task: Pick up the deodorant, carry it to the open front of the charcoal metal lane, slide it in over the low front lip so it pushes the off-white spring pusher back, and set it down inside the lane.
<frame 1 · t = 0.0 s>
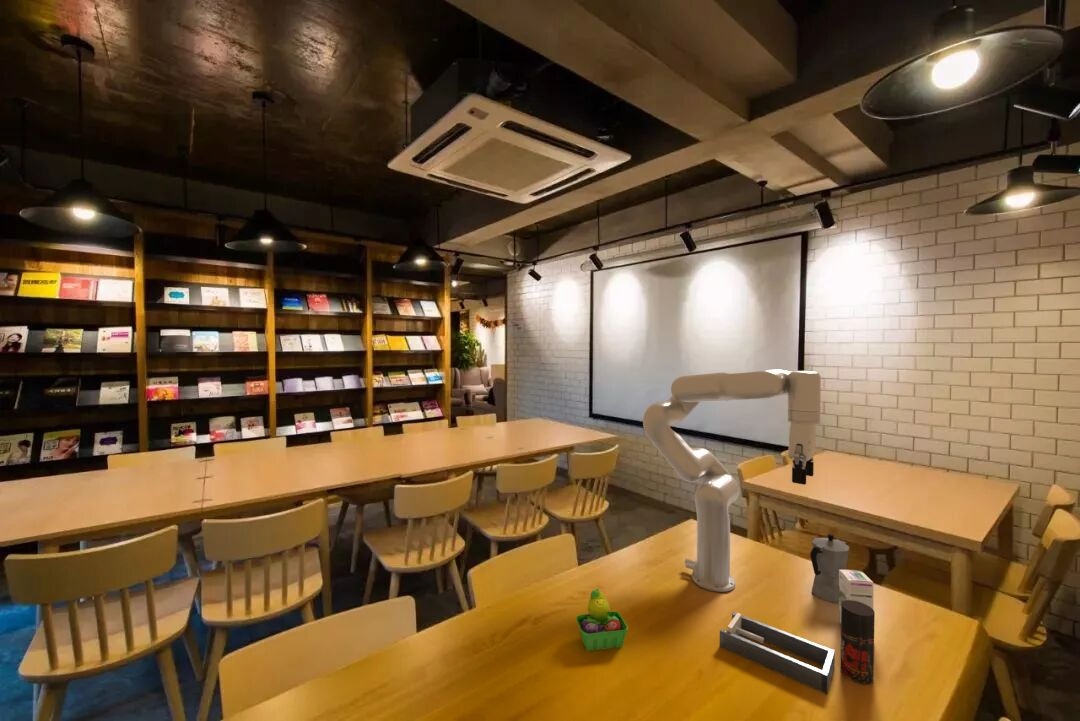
hand: (802, 479, 119), 37 cm above the table, tool pointing down, fingers open, 9 cm apart
pusher: (747, 634, 106), point 3 cm above the table, slide at 0.0 cm
syrup box: (855, 631, 112), on the table
coffeepot: (827, 596, 127), on the table
deodorant: (856, 675, 97), on the table
lane: (775, 657, 102), on the table
fruit basket: (600, 641, 108), on the table
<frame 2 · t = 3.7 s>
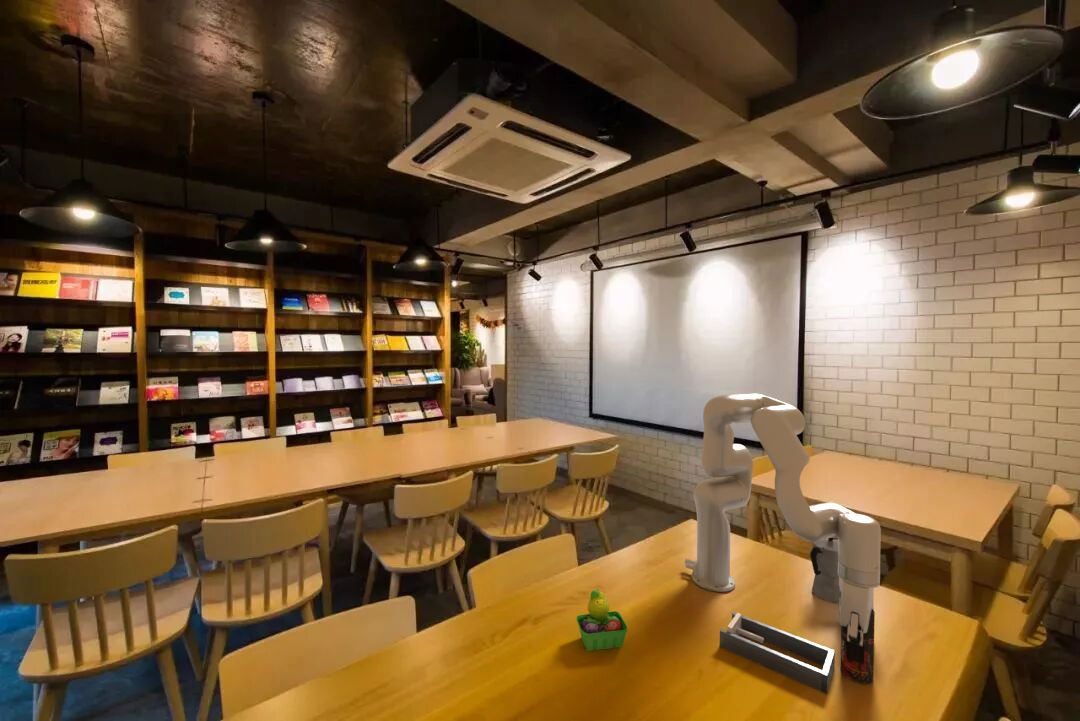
hand: (857, 651, 97), 5 cm above the table, tool pointing down, fingers closed on deodorant, 5 cm apart
deodorant: (856, 675, 97), on the table, touching gripper
everything else where it was.
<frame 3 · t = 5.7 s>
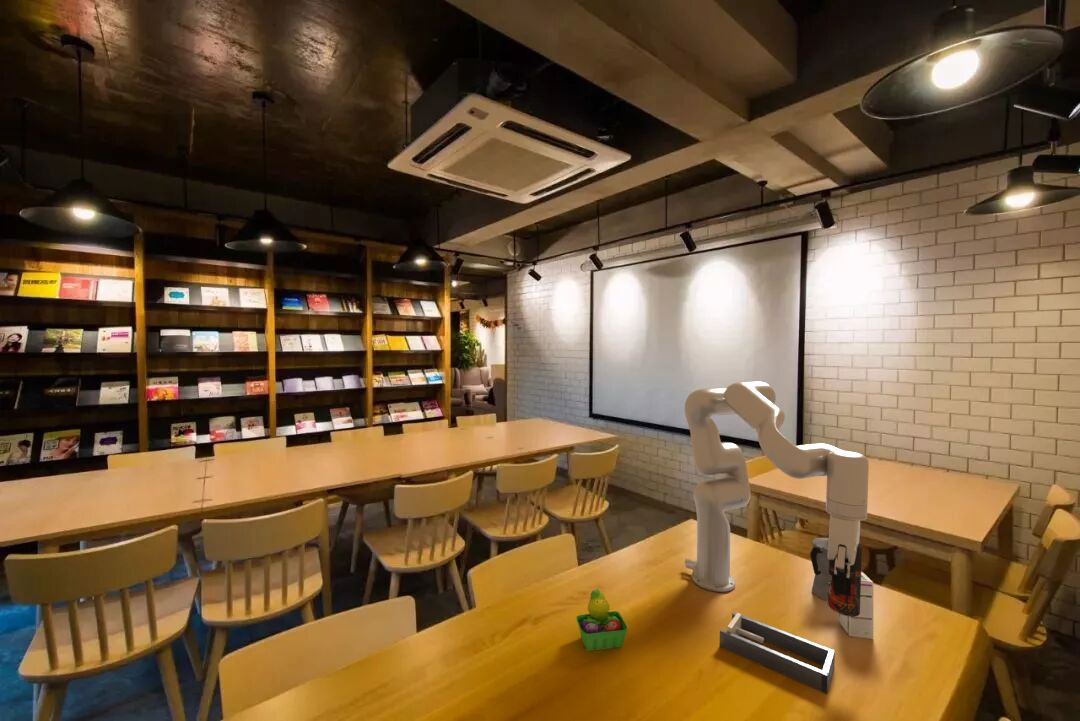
hand: (843, 586, 98), 19 cm above the table, tool pointing down, fingers closed on deodorant, 5 cm apart
deodorant: (843, 609, 98), point 14 cm above the table, touching gripper
everything else where it was.
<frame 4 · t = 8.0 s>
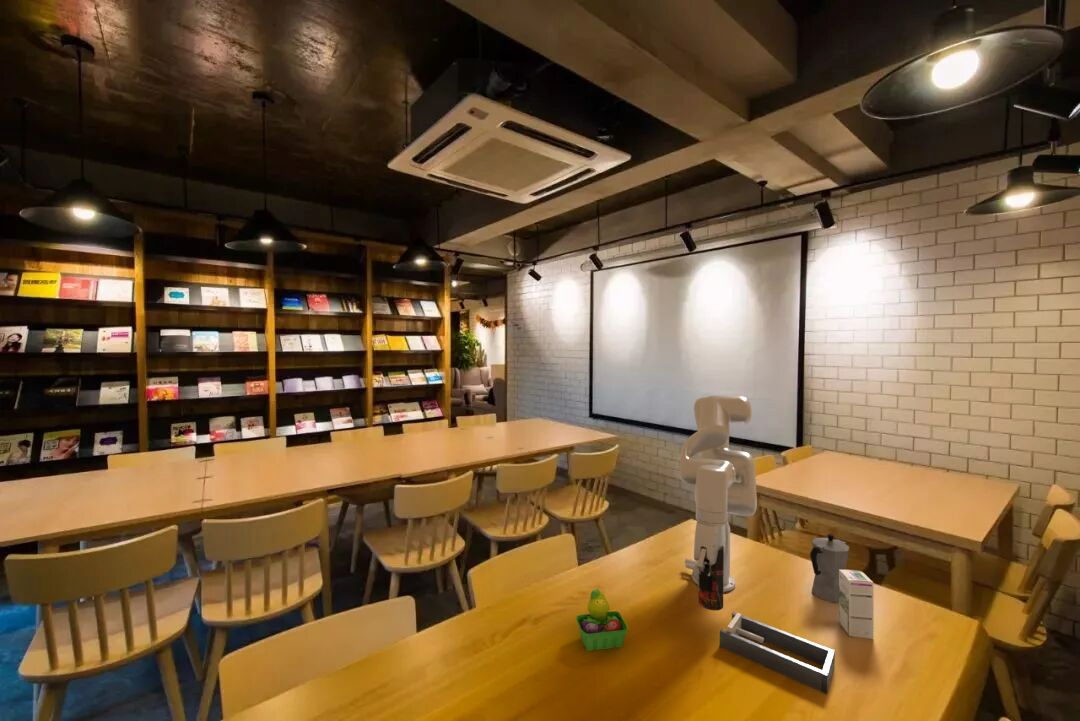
hand: (710, 584, 112), 12 cm above the table, tool pointing down, fingers closed on deodorant, 5 cm apart
deodorant: (710, 604, 112), point 7 cm above the table, touching gripper
everything else where it was.
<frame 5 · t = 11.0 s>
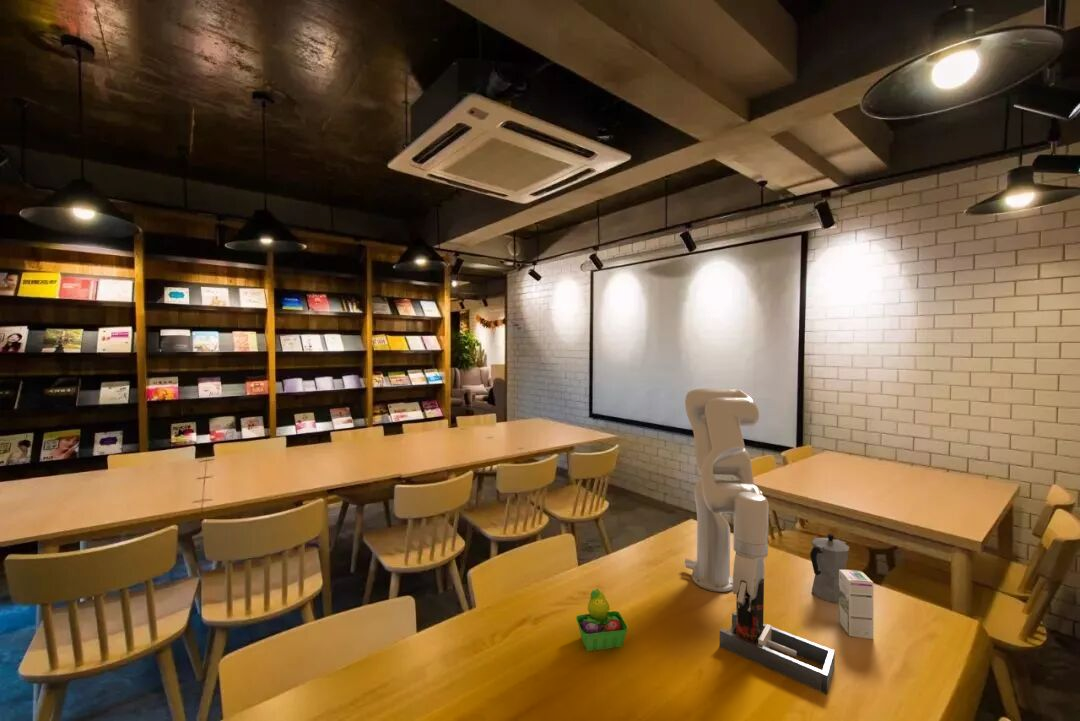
hand: (749, 617, 106), 7 cm above the table, tool pointing down, fingers closed on deodorant, 5 cm apart
pusher: (779, 647, 102), point 3 cm above the table, slide at 6.9 cm, touching deodorant
deodorant: (749, 639, 106), point 2 cm above the table, touching gripper, pusher
everything else where it was.
when the fingers open (6 cm above the table, at t = 12.1 s): deodorant stays where it is, resting in lane.
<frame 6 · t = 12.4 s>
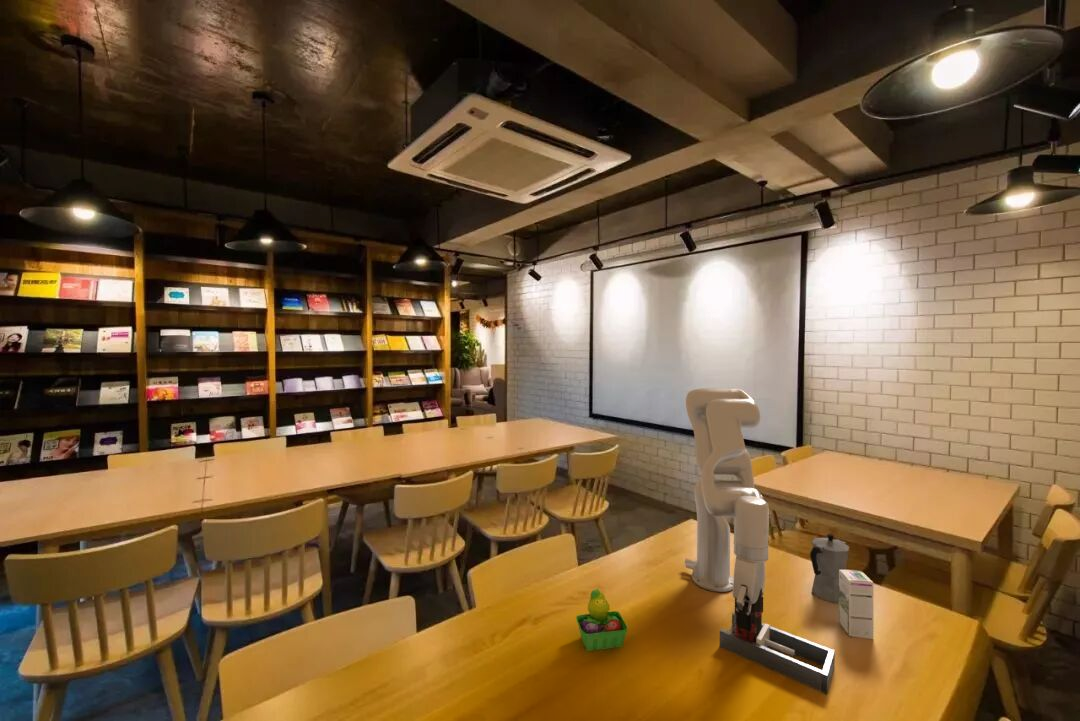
hand: (750, 619, 106), 7 cm above the table, tool pointing down, fingers open, 9 cm apart
pusher: (777, 646, 102), point 3 cm above the table, slide at 6.5 cm
deodorant: (747, 645, 106), resting in lane
everything else where it was.
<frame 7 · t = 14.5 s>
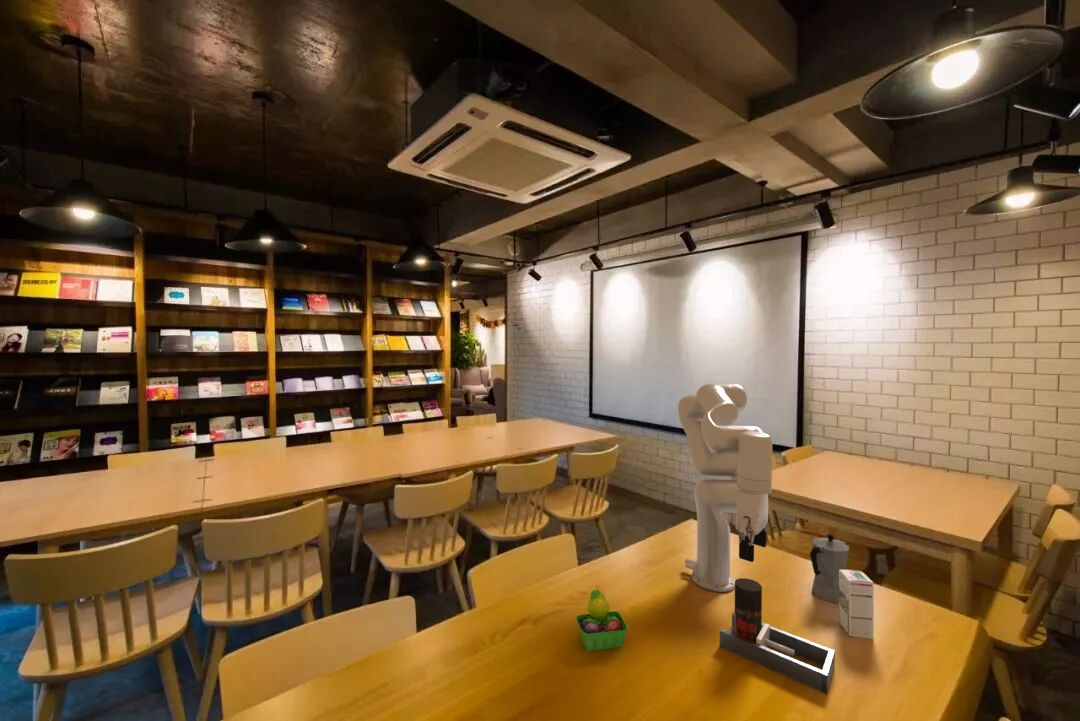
hand: (752, 552, 107), 23 cm above the table, tool pointing down, fingers open, 9 cm apart
pusher: (777, 646, 102), point 3 cm above the table, slide at 6.5 cm, touching deodorant
deodorant: (747, 645, 106), resting in lane, touching pusher
everything else where it was.
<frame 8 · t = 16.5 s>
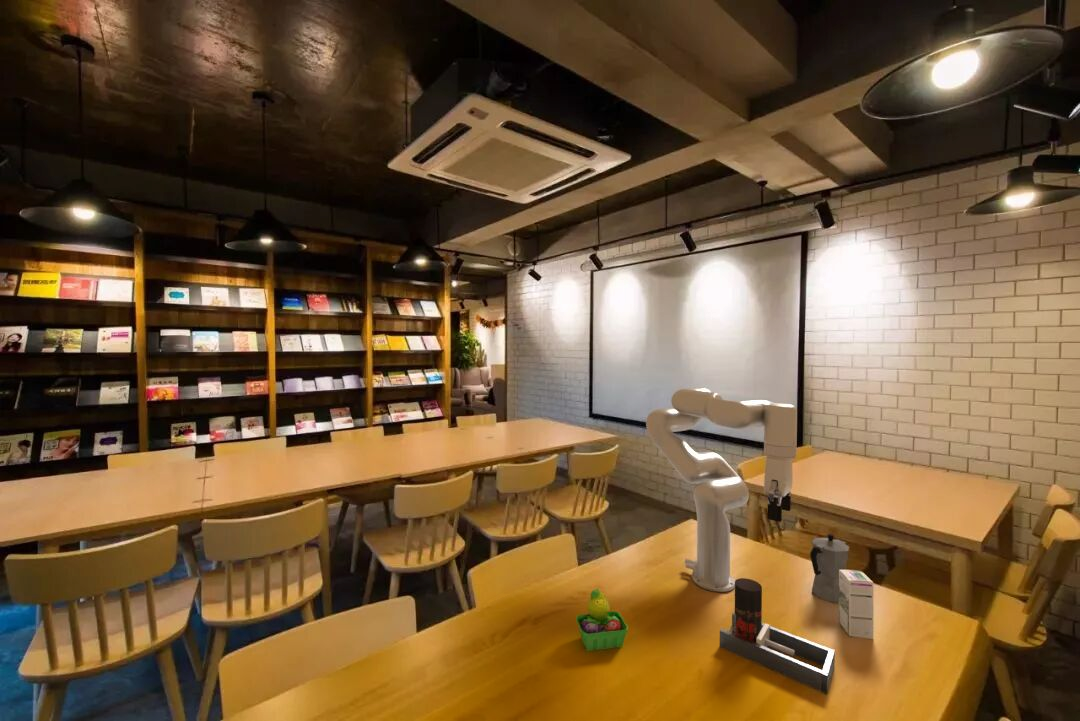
hand: (779, 514, 115), 28 cm above the table, tool pointing down, fingers open, 9 cm apart
nothing on the table moved.
at the end: deodorant 0.1 cm from the target spot on the lane, point 0.0 cm above the lane's base; deodorant tilted 0°; pusher slide at 6.5 cm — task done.
